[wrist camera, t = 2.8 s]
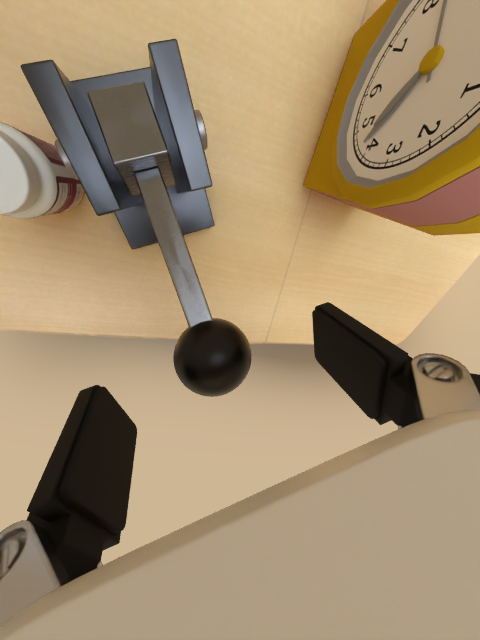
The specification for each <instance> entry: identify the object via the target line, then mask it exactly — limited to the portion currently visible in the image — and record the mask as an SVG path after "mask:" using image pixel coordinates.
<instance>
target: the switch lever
mask: <svg viewBox="0 0 480 640" xmlns="http://www.w3.org/2000/svg"><path fill="white" fill-rule="evenodd" d="M87 93H88V97H89V100H90V103H91V105H92V108H93V111H94V113H95V116H96V119H97V122H98V124H99V127H100V130H101V133H102V135H103V138H104V141H105V143H106V146H107V149H108V152H109V154H110V157H111V160H112V162H113V165H114V166H115V168H116V169H117V171H118V173H119V174H120V176H121V178H122V179H123V181H124V183H125V184H126V186H127V187H128V189H129V191H130V192H131V194H132V195H133V196H135V195H139V194H141V195H142V198H143V201H144V204H145V206H146V209H147V212H148V215H149V218H150V220H151V223H152V226H153V229H154V231H155V234H156V237H157V240H158V242H159V245H160V248H161V251H162V253H163V256H164V259H165V262H166V264H167V267H168V270H169V273H170V275H171V278H172V281H173V284H174V287H175V289H176V292H177V295H178V298H179V300H180V303H181V306H182V309H183V311H184V314H185V317H186V320H187V322H188V325H189V327H188V328H187V329H186V330H185V331H184V332H183V333H182V335H181V336H180V338H179V339H178V341H177V344H176V346H175V350H174V366H175V370H176V373H177V375H178V377H179V379H180V380H181V382H182V383H183V384H184V385H185V386H186V387H187V388H188V389H190V390H191V391H193V392H195V393H197V394H200V395H203V396H211V397H213V396H221V395H224V394H227V393H229V392H231V391H232V390H234V389H235V388H236V387H238V386H239V385H240V384H241V383H242V381H243V380H244V379H245V377H246V375H247V374H248V371H249V369H250V365H251V349H250V345H249V342H248V340H247V338H246V336H245V335H244V333H243V332H242V331H241V330H240V329H239V328H238V327H237V326H235V325H234V324H232V323H231V322H228V321H226V320H222V319H216V318H212V316H211V313H210V310H209V307H208V304H207V302H206V299H205V296H204V293H203V290H202V287H201V285H200V282H199V279H198V276H197V273H196V270H195V268H194V265H193V262H192V259H191V256H190V253H189V251H188V248H187V245H186V242H185V239H184V236H183V234H182V231H181V228H180V225H179V222H178V219H177V217H176V214H175V211H174V208H173V205H172V202H171V200H170V197H169V194H168V191H167V188H166V187H170V186H174V185H176V183H175V178H174V174H173V169H172V165H171V161H170V156H169V152H168V149H167V146H166V143H165V140H164V137H163V134H162V131H161V129H160V126H159V123H158V120H157V117H156V114H155V111H154V108H153V106H152V103H151V100H150V97H149V94H148V91H147V88H146V85H145V83H144V82H142V81H141V82H136V83H131V84H126V85H120V86H115V87H110V88H104V89H99V90H94V91H88V92H87Z"/></svg>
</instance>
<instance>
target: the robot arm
mask: <svg viewBox="0 0 480 640" xmlns="http://www.w3.org/2000/svg"><path fill="white" fill-rule="evenodd" d="M312 316H313V334H314V352H315V357H316V360H317V361H318V362H319V364H320V365H321V366H322V367H323V368H324V369H325V370H326V371H327V372H328V373H329V374H330V376H332V378H333V379H334V380H335V381H336V382H337V383H338V384H339V385H340V387H341V388H342V389H343V390H344V391H345V392H346V393H347V394H348V395H349V396H350V397H351V398H352V400H353V401H354V402H355V403H356V404H357V405H358V406H359V407H360V408H361V409H362V410H363V412H364V413H365V414H366V415H367V416H368V417H370V418H372V419H375V420H376V421H377V422H378V423H379V424H380V425H382V424H384V423H386V422H388V421H391V420H392V421H393V422H394V423H395V424H396V425H398V430H397V431H394V432H392V433H390V434H387V435H385V436H383V437H380V438H378V439H375V440H373V441H371V442H369V443H367V444H364V445H362V446H360V447H358V448H355V449H353V450H351V451H349V452H346V453H344V454H342V455H340V456H338V457H335V458H333V459H331V460H329V461H327V462H324V463H322V464H320V465H318V466H316V467H313V468H312V469H309V470H307V471H305V472H302V473H300V474H298V475H296V476H294V477H291V478H289V479H287V480H285V481H283V482H281V483H278V484H276V485H274V486H272V487H270V488H267V489H265V490H263V491H261V492H259V493H257V494H254V495H253V496H250V497H248V498H246V499H244V500H241V501H239V502H237V503H235V504H233V505H231V506H229V507H226V508H224V509H222V510H220V511H218V512H215V513H213V514H211V515H209V516H207V517H204V518H202V519H200V520H198V521H196V522H194V523H192V524H190V525H187V526H185V527H183V528H181V529H179V530H177V531H174V532H172V533H170V534H168V535H166V536H164V537H162V538H160V539H157V540H155V541H153V542H151V543H149V544H146V545H144V546H142V547H140V548H138V549H136V550H134V551H132V552H129V553H127V554H126V555H123V556H121V557H119V558H117V559H115V560H113V561H111V562H109V563H107V564H105V565H103V564H102V562H101V555H102V551H103V550H105V549H107V548H109V547H112V546H114V545H116V544H118V543H119V540H120V534H121V531H122V530H123V529H124V527H125V524H126V517H127V509H128V501H129V493H130V485H131V477H132V469H133V461H134V453H135V445H136V437H137V428H136V425H135V424H134V423H133V421H132V420H131V419H130V418H129V416H128V415H127V414H126V413H125V411H124V410H123V409H122V408H121V406H120V405H119V404H118V403H117V401H116V400H115V399H114V397H113V396H112V395H111V394H110V392H109V391H108V390H107V389H106V388H105V387H100V386H99V385H95V386H92V387H89V388H87V389H84V390H81V391H80V393H79V394H78V397H77V399H76V401H75V403H74V406H73V408H72V410H71V412H70V415H69V417H68V419H67V421H66V424H65V426H64V428H63V430H62V433H61V435H60V437H59V440H58V441H57V444H56V446H55V448H54V451H53V453H52V455H51V457H50V459H49V462H48V464H47V466H46V468H45V471H44V473H43V475H42V478H41V480H40V482H39V484H38V487H37V489H36V491H35V493H34V495H33V498H32V500H31V502H30V504H29V507H28V509H27V511H28V512H30V513H29V516H28V518H27V520H26V521H23V520H22V521H19V522H16V523H14V524H12V525H10V526H9V527H7V528H5V529H4V530H3V531H2V532H0V640H480V375H477V374H471V373H469V371H468V370H467V369H466V367H465V366H464V365H462V364H461V363H460V362H458V361H456V360H454V359H452V358H450V357H447V356H444V355H439V354H434V353H432V354H431V353H426V354H421V355H418V356H416V357H414V359H413V358H411V357H409V356H408V353H406V352H405V351H403V350H402V349H400V348H399V347H397V346H396V345H394V344H393V343H391V342H389V341H388V340H386V339H385V338H383V337H382V336H380V335H379V334H377V333H376V332H374V331H373V330H371V329H369V328H368V327H366V326H365V325H363V324H362V323H360V322H359V321H357V320H356V319H354V318H353V317H351V316H349V315H348V314H346V313H345V312H343V311H342V310H340V309H339V308H337V307H336V306H334V305H332V304H331V303H329V302H327V303H324V304H321V305H319V306H316V307H315V310H314V311H313V312H312Z"/></svg>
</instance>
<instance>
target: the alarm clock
mask: <svg viewBox="0 0 480 640" xmlns="http://www.w3.org/2000/svg"><path fill="white" fill-rule="evenodd" d="M303 186H305V187H308V188H310V189H313V190H315V191H317V192H320V193H322V194H325V195H327V196H329V197H332V198H334V199H337V200H339V201H341V202H344V203H346V204H349V205H351V206H353V207H356V208H359V209H361V210H364V211H367V212H370V213H373V214H375V215H378V216H381V217H384V218H386V219H389V220H392V221H395V222H398V223H400V224H403V225H406V226H409V227H412V228H414V229H417V230H420V231H423V232H425V233H428V234H431V235H451V234H470V233H480V0H387V1H386V2H385V3H384V4H383V5H382V6H381V7H380V8H379V9H378V10H377V11H376V12H375V13H374V14H373V15H372V16H371V18H370V19H369V20H368V21H367V22H366V23H365V24H364V25H363V26H362V27H361V28H360V29H359V30H358V31H357V32H356V34H355V35H354V38H353V41H352V44H351V47H350V50H349V53H348V56H347V58H346V61H345V64H344V67H343V70H342V73H341V76H340V79H339V82H338V85H337V88H336V91H335V94H334V97H333V100H332V102H331V105H330V108H329V111H328V114H327V117H326V120H325V123H324V126H323V129H322V132H321V135H320V138H319V141H318V144H317V146H316V149H315V152H314V155H313V158H312V161H311V164H310V167H309V170H308V173H307V176H306V179H305V182H304V185H303Z"/></svg>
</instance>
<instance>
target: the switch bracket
mask: <svg viewBox="0 0 480 640" xmlns="http://www.w3.org/2000/svg"><path fill="white" fill-rule="evenodd" d="M148 49H149V59H150V67H148V68H142V69H136V70H131V71H125V72H120V73H114V74H109V75H103V76H98V77H92V78H86V79H81V80H75V81H69V80H68V78H67V77H66V76H65V75H64V73H63V72H62V71H61V70H60V68H59V67H58V66H57V65H56V64H55V62H54V61H53V60H46V61H40V62H34V63H27V64H22V65H21V69H22V71H23V73H24V75H25V77H26V79H27V81H28V82H29V84H30V86H31V88H32V90H33V92H34V94H35V96H36V98H37V100H38V102H39V104H40V106H41V108H42V110H43V112H44V113H45V115H46V117H47V119H48V121H49V123H50V125H51V127H52V129H53V131H54V133H55V135H56V137H57V139H58V140H56V141H55V145H56V148H57V151H58V153H59V156H60V158H61V160H62V161H63V163H64V165H65V166H66V168H67V169H68V171H69V172H70V173H71V175H72V176H73V177H74V178H75V179H77V180H79V181H80V183H81V185H82V187H83V189H84V191H85V193H86V195H87V197H88V199H89V201H90V203H91V205H92V206H93V208H94V210H95V212H96V214H97V215H98V216H101V215H105V214H109V213H112V212H114V213H115V215H116V217H117V219H118V221H119V223H120V226H121V228H122V230H123V232H124V234H125V236H126V238H127V240H128V242H129V245H130V247H131V249H136V248H140V247H143V246H146V245H150V244H153V243H157V242H158V240H157V237H156V234H155V231H154V229H153V226H152V223H151V220H150V218H149V215H148V212H147V209H146V206H145V204H144V201H143V198H142V195H141V194H139V195H135V196H133V195H132V194H131V192H130V191H129V189H128V187H127V186H126V184H125V183H124V181H123V179H122V178H121V176H120V174H119V173H118V171H117V169H116V168H115V166H114V165H113V162H112V160H111V157H110V154H109V152H108V149H107V146H106V143H105V141H104V138H103V135H102V133H101V130H100V127H99V124H98V122H97V119H96V116H95V113H94V111H93V108H92V105H91V103H90V100H89V97H88V93H87V92H88V91H94V90H99V89H104V88H110V87H115V86H120V85H126V84H131V83H136V82H141V81H142V82H144V83H145V85H146V88H147V91H148V94H149V97H150V100H151V103H152V106H153V108H154V111H155V114H156V117H157V120H158V123H159V126H160V129H161V131H162V134H163V137H164V140H165V143H166V146H167V149H168V152H169V156H170V161H171V165H172V169H173V174H174V178H175V183H176V185H174V186H170V187H166V188H167V191H168V194H169V197H170V200H171V202H172V205H173V208H174V211H175V214H176V217H177V219H178V222H179V225H180V228H181V231H182V234H183V235H185V234H188V233H191V232H195V231H198V230H202V229H205V228H209V227H212V226H214V221H213V217H212V213H211V209H210V205H209V202H208V198H207V194H206V190H205V188H207V187H211V186H212V181H211V177H210V173H209V169H208V165H207V161H206V157H205V152H204V150H205V149H207V135H206V129H205V125H204V121H203V118H202V115H201V113H200V111H199V110H195V111H194V108H193V104H192V100H191V96H190V91H189V87H188V83H187V79H186V75H185V71H184V67H183V63H182V59H181V55H180V51H179V47H178V43H177V40H176V39H171V40H165V41H159V42H153V43H149V44H148Z"/></svg>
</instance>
